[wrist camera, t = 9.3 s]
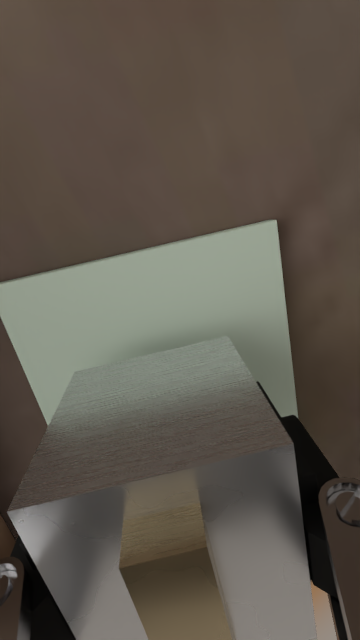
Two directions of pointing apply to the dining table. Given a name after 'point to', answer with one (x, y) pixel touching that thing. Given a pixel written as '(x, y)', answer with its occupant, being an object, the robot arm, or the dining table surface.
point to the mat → (156, 310)
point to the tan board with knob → (5, 540)
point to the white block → (169, 504)
